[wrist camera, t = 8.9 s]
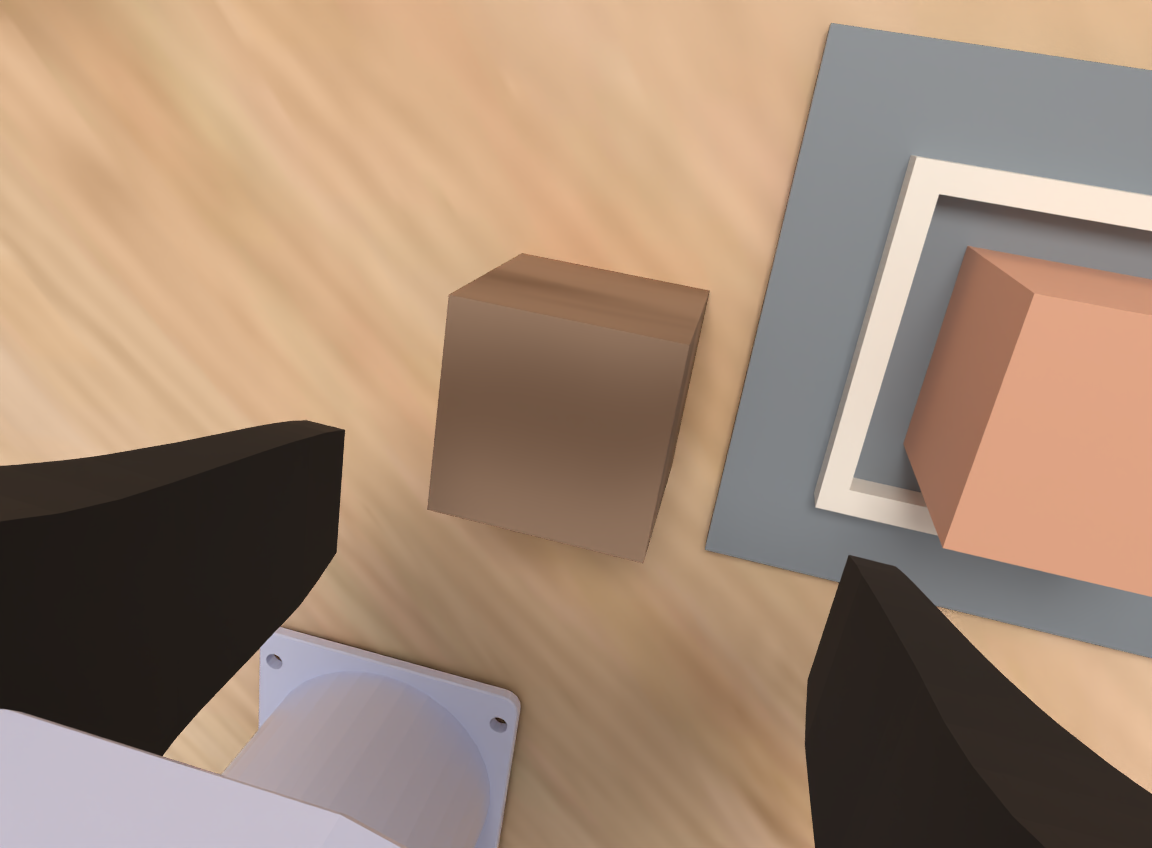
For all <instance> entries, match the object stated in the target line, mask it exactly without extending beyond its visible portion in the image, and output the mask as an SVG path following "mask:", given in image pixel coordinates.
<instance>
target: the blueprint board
mask: <svg viewBox="0 0 1152 848" xmlns="http://www.w3.org/2000/svg"><path fill="white" fill-rule="evenodd" d="M967 246H972V247H977V248H983V249H988V250H993V251H999V252H1004V253H1010V254H1015V255H1021V256H1026V257H1032V258H1037V259H1043V260H1048V261H1054V262H1059V263H1064V264H1070V265H1075V266H1081V267H1086V268H1092V269H1097V270H1103V271H1108V272H1114V273H1119V274H1125V275H1130V276H1135V277H1141V278H1146V279H1152V70H1145V69H1138V68H1131V67H1125V66H1118V65H1111V64H1104V63H1098V62H1091V61H1084V60H1077V59H1071V58H1064V57H1057V56H1050V55H1044V54H1037V53H1030V52H1023V51H1017V50H1010V49H1003V48H996V47H990V46H983V45H976V44H969V43H963V42H956V41H949V40H942V39H936V38H929V37H922V36H915V35H909V34H902V33H895V32H888V31H882V30H875V29H868V28H861V27H855V26H848V25H841V24H834V23H831V24H830V27H829V31H828V35H827V39H826V43H825V48H824V52H823V56H822V60H821V64H820V69H819V73H818V77H817V81H816V85H815V89H814V94H813V98H812V102H811V106H810V110H809V114H808V119H807V123H806V127H805V131H804V135H803V140H802V144H801V148H800V152H799V156H798V160H797V165H796V169H795V173H794V177H793V181H792V185H791V190H790V194H789V198H788V202H787V206H786V211H785V215H784V219H783V223H782V227H781V231H780V236H779V240H778V244H777V248H776V252H775V256H774V261H773V265H772V269H771V273H770V277H769V282H768V286H767V290H766V294H765V298H764V302H763V307H762V311H761V315H760V319H759V323H758V328H757V332H756V336H755V340H754V344H753V348H752V353H751V357H750V361H749V365H748V369H747V373H746V378H745V382H744V386H743V390H742V394H741V399H740V403H739V407H738V411H737V415H736V419H735V424H734V428H733V432H732V436H731V440H730V444H729V449H728V453H727V457H726V461H725V465H724V470H723V474H722V478H721V482H720V486H719V490H718V495H717V499H716V503H715V507H714V511H713V515H712V520H711V524H710V528H709V532H708V536H707V541H706V547H705V550H708V551H712V552H716V553H720V554H724V555H729V556H733V557H737V558H741V559H745V560H749V561H753V562H757V563H762V564H766V565H770V566H774V567H778V568H782V569H786V570H790V571H795V572H799V573H803V574H807V575H811V576H815V577H819V578H823V579H828V580H832V581H836V582H840V579H841V576H842V573H843V570H844V567H845V564H846V561H847V558H848V555H852V556H856V557H860V558H864V559H868V560H872V561H876V562H880V563H884V564H889V565H893V566H896V567H897V568H898V569H900V570H901V571H902V572H903V573H904V574H905V575H906V576H907V577H908V578H909V579H910V580H911V581H912V582H913V583H914V584H915V585H916V586H917V587H918V588H919V589H920V590H921V591H922V592H923V593H924V594H925V595H926V596H927V597H928V598H929V599H930V600H931V602H932V603H933V604H934V605H935V606H939V607H943V608H947V609H951V610H955V611H959V612H964V613H968V614H972V615H976V616H980V617H984V618H988V619H992V620H996V621H1001V622H1005V623H1009V624H1013V625H1017V626H1021V627H1025V628H1029V629H1034V630H1038V631H1042V632H1046V633H1050V634H1054V635H1058V636H1062V637H1067V638H1071V639H1075V640H1079V641H1083V642H1087V643H1091V644H1095V645H1100V646H1104V647H1108V648H1112V649H1116V650H1120V651H1124V652H1128V653H1133V654H1137V655H1141V656H1145V657H1149V658H1152V597H1150V596H1146V595H1141V594H1137V593H1133V592H1129V591H1124V590H1120V589H1116V588H1112V587H1107V586H1103V585H1099V584H1094V583H1090V582H1086V581H1082V580H1077V579H1073V578H1069V577H1065V576H1060V575H1056V574H1052V573H1047V572H1043V571H1039V570H1035V569H1030V568H1026V567H1022V566H1018V565H1013V564H1009V563H1005V562H1000V561H996V560H992V559H988V558H983V557H979V556H975V555H971V554H966V553H962V552H958V551H953V550H949V549H945V548H942V545H941V542H940V540H939V537H938V534H937V532H936V529H935V527H934V524H933V521H932V519H931V516H930V513H929V511H928V508H927V505H926V503H925V500H924V497H923V495H922V492H921V490H920V487H919V484H918V482H917V479H916V476H915V474H914V471H913V468H912V466H911V463H910V461H909V458H908V455H907V453H906V450H905V447H904V445H903V443H904V440H905V437H906V434H907V431H908V428H909V425H910V422H911V418H912V415H913V412H914V409H915V406H916V403H917V400H918V397H919V394H920V391H921V388H922V385H923V381H924V378H925V375H926V372H927V369H928V366H929V363H930V360H931V357H932V354H933V351H934V347H935V344H936V341H937V338H938V335H939V332H940V329H941V326H942V323H943V320H944V317H945V314H946V310H947V307H948V304H949V301H950V298H951V295H952V292H953V289H954V286H955V283H956V280H957V276H958V273H959V270H960V267H961V264H962V261H963V258H964V255H965V252H966V249H967Z"/></svg>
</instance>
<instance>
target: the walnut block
mask: <svg viewBox="0 0 1152 848" xmlns="http://www.w3.org/2000/svg"><path fill="white" fill-rule="evenodd" d="M708 295H709V291H708V290H703V289H698V288H693V287H688V286H683V285H678V284H673V283H668V282H663V281H658V280H653V279H648V278H643V277H638V276H633V275H628V274H623V273H618V272H613V271H608V270H603V269H598V268H593V267H588V266H583V265H578V264H573V263H568V262H563V261H558V260H553V259H548V258H543V257H538V256H533V255H528V254H523V253H522V254H520V255H518V256H516V257H515V258H513V259H511V260H509V261H508V262H506V263H504V264H502V265H500V266H499V267H497V268H495V269H493V270H492V271H490V272H488V273H486V274H485V275H483V276H481V277H479V278H478V279H476V280H474V281H472V282H471V283H469V284H467V285H465V286H463V287H462V288H460V289H458V290H456V291H455V292H453V293H451V294H449V299H448V309H447V319H446V329H445V339H444V349H443V359H442V369H441V379H440V389H439V399H438V409H437V419H436V429H435V439H434V449H433V459H432V469H431V479H430V489H429V499H428V509H427V510H431V511H435V512H439V513H443V514H447V515H451V516H455V517H459V518H463V519H467V520H471V521H475V522H479V523H483V524H487V525H491V526H495V527H499V528H503V529H507V530H511V531H515V532H519V533H523V534H527V535H531V536H535V537H540V538H544V539H548V540H552V541H556V542H560V543H564V544H568V545H572V546H576V547H580V548H584V549H588V550H592V551H596V552H600V553H604V554H608V555H612V556H616V557H620V558H624V559H628V560H632V561H636V562H640V563H643V562H644V559H645V556H646V552H647V549H648V545H649V542H650V538H651V535H652V532H653V528H654V525H655V521H656V518H657V515H658V511H659V508H660V504H661V501H662V497H663V494H664V491H665V487H666V484H667V480H668V477H669V473H670V470H671V466H672V462H673V457H674V453H675V448H676V443H677V439H678V434H679V429H680V425H681V420H682V416H683V411H684V406H685V402H686V397H687V393H688V388H689V383H690V379H691V374H692V369H693V365H694V360H695V356H696V351H697V346H698V342H699V337H700V332H701V328H702V323H703V319H704V314H705V309H706V305H707V300H708Z"/></svg>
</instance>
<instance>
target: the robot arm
mask: <svg viewBox="0 0 1152 848" xmlns="http://www.w3.org/2000/svg"><path fill="white" fill-rule="evenodd" d="M344 437H345V430H343V429H339V428H335V427H331V426H327V425H323V424H319V423H315V422H311V421H307V420H303V421H288V422H280V423H273V424H267V425H262V426H256V427H251V428H246V429H241V430H236V431H231V432H226V433H221V434H216V435H211V436H206V437H202V438H197V439H192V440H187V441H182V442H177V443H171V444H165V445H160V446H154V447H148V448H142V449H137V450H131V451H125V452H119V453H114V454H108V455H101V456H94V457H87V458H79V459H71V460H63V461H52V462H42V463H32V464H21V465H8V466H0V848H498V847H499V841H500V834H501V828H502V822H503V816H504V809H505V803H506V797H507V791H508V784H509V778H510V772H511V766H512V759H513V753H514V747H515V741H516V734H517V728H518V722H519V715H520V709H521V705H520V701H519V699H518V697H517V696H516V695H515V694H514V693H513V692H511V691H509V690H506V689H503V688H499V687H496V686H492V685H488V684H485V683H481V682H478V681H474V680H470V679H467V678H463V677H460V676H456V675H452V674H449V673H445V672H441V671H438V670H434V669H431V668H427V667H423V666H420V665H416V664H412V663H409V662H405V661H402V660H398V659H394V658H391V657H387V656H384V655H380V654H376V653H373V652H369V651H365V650H362V649H358V648H355V647H351V646H347V645H344V644H340V643H336V642H333V641H329V640H326V639H322V638H318V637H315V636H311V635H308V634H304V633H300V632H297V631H293V630H289V629H286V628H282V627H280V626H281V625H282V624H283V623H284V622H285V621H286V620H287V619H288V618H289V616H290V615H291V614H292V613H293V612H294V611H295V610H296V609H297V608H298V607H299V605H300V604H301V603H302V602H303V600H304V599H305V598H306V596H307V595H308V594H309V592H310V591H311V589H312V588H313V587H314V585H315V584H316V582H317V581H318V580H319V578H320V577H321V575H322V574H323V572H324V571H325V569H326V568H327V566H328V565H329V563H330V562H331V560H332V559H333V557H334V556H335V554H336V552H337V537H338V523H339V509H340V494H341V480H342V466H343V451H344ZM259 648H260V679H259V730H258V731H257V732H256V733H255V735H254V736H253V737H252V738H251V739H250V740H249V742H248V743H247V744H246V745H245V746H244V748H243V749H242V750H241V751H240V752H239V754H238V755H237V756H236V757H235V758H234V760H233V761H232V762H231V763H230V764H229V766H228V767H227V768H226V769H225V770H224V772H223V773H222V774H221V775H220V774H217V773H213V772H210V771H207V770H204V769H201V768H198V767H194V766H191V765H188V764H185V763H182V762H179V761H175V760H172V759H169V758H166V757H163V755H164V753H165V752H166V751H167V749H168V748H169V747H170V745H171V744H172V743H173V741H174V740H175V739H176V738H177V736H178V735H179V734H180V733H181V732H182V731H183V730H184V728H185V727H186V726H187V725H188V724H189V723H190V722H191V720H192V719H193V718H194V717H195V716H196V715H197V713H198V712H199V711H200V710H201V709H202V708H203V707H204V706H205V705H206V704H207V703H208V702H209V701H210V700H211V699H212V698H213V697H214V695H215V694H216V693H217V692H218V691H219V690H220V689H221V688H222V687H223V686H224V685H225V684H226V683H227V682H228V681H229V680H230V679H231V678H232V677H233V676H234V675H235V673H236V672H237V671H238V670H239V669H240V668H241V667H242V666H243V665H244V664H245V663H246V662H247V661H248V660H249V659H250V658H251V657H252V656H253V655H254V654H255V653H256V652H257V650H258V649H259ZM274 654H275V655H277V656H279V657H280V659H281V660H282V661H280V660H278V659H277V658H276V657H275V656H274ZM494 717H498V718H501V719H503V720H504V721H505V722H506V724H505V723H500V722H498V721H497V720H496V719H495V718H494ZM805 751H806V762H807V773H808V783H809V793H810V803H811V813H812V822H813V832H814V842H815V848H1152V794H1151V793H1150V792H1148V791H1147V790H1145V789H1144V788H1142V787H1141V786H1139V785H1138V784H1136V783H1135V782H1134V781H1132V780H1131V779H1129V778H1128V777H1127V776H1125V775H1124V774H1123V773H1121V772H1120V771H1118V770H1117V769H1116V768H1114V767H1113V766H1111V765H1110V764H1109V763H1107V762H1106V761H1105V760H1104V759H1102V758H1101V757H1100V756H1098V755H1097V754H1096V753H1095V752H1093V751H1092V750H1091V749H1090V748H1088V747H1087V746H1086V745H1084V744H1083V743H1082V742H1081V741H1079V740H1078V739H1077V738H1075V737H1074V736H1073V735H1072V734H1070V733H1069V732H1068V731H1067V730H1065V729H1064V728H1063V727H1061V726H1060V725H1059V724H1058V723H1057V722H1055V721H1054V720H1053V719H1052V718H1051V717H1050V716H1048V715H1047V714H1046V713H1045V712H1044V711H1042V710H1041V709H1040V708H1039V707H1038V706H1037V705H1036V704H1034V703H1033V702H1032V701H1031V700H1030V699H1029V698H1028V697H1027V696H1026V695H1025V694H1024V693H1022V692H1021V691H1020V690H1019V689H1018V688H1017V687H1016V686H1015V685H1014V684H1013V683H1012V682H1010V681H1009V680H1008V679H1007V678H1006V677H1005V676H1004V675H1003V674H1002V673H1001V672H1000V671H999V670H998V669H997V668H996V667H995V666H994V665H993V664H992V663H990V662H989V661H988V660H987V659H986V658H985V657H984V656H983V655H982V654H981V653H980V652H979V651H978V650H977V649H976V648H975V647H974V646H973V645H972V644H971V643H970V642H969V640H968V639H967V638H966V637H965V636H964V635H963V634H962V633H961V632H960V631H959V630H958V629H957V628H956V627H955V626H954V625H953V624H952V623H951V622H950V621H949V620H948V619H947V618H946V616H945V615H944V614H943V613H942V612H941V611H940V610H939V609H938V608H937V607H936V606H935V605H934V604H933V603H932V602H931V600H930V599H929V598H928V597H927V596H926V595H925V594H924V593H923V592H922V591H921V590H920V589H919V588H918V587H917V586H916V585H915V584H914V583H913V582H912V581H911V580H910V579H909V578H908V577H907V576H906V575H905V574H904V573H903V572H902V571H901V570H900V569H898V568H897V567H896V566H893V565H889V564H884V563H880V562H876V561H872V560H868V559H864V558H860V557H856V556H852V555H848V558H847V561H846V564H845V567H844V570H843V573H842V576H841V579H840V582H839V585H838V589H837V592H836V595H835V598H834V601H833V604H832V607H831V610H830V613H829V616H828V619H827V622H826V625H825V628H824V631H823V634H822V638H821V641H820V644H819V647H818V650H817V653H816V656H815V659H814V662H813V665H812V668H811V671H810V674H809V677H808V684H807V703H806V727H805Z"/></svg>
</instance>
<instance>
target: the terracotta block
mask: <svg viewBox="0 0 1152 848" xmlns="http://www.w3.org/2000/svg"><path fill="white" fill-rule="evenodd" d="M903 445H904V447H905V450H906V453H907V455H908V458H909V461H910V463H911V466H912V468H913V471H914V474H915V476H916V479H917V482H918V484H919V487H920V490H921V492H922V495H923V497H924V500H925V503H926V505H927V508H928V511H929V513H930V516H931V519H932V521H933V524H934V527H935V529H936V532H937V534H938V537H939V540H940V542H941V545H942V548H945V549H949V550H953V551H958V552H962V553H966V554H971V555H975V556H979V557H983V558H988V559H992V560H996V561H1000V562H1005V563H1009V564H1013V565H1018V566H1022V567H1026V568H1030V569H1035V570H1039V571H1043V572H1047V573H1052V574H1056V575H1060V576H1065V577H1069V578H1073V579H1077V580H1082V581H1086V582H1090V583H1094V584H1099V585H1103V586H1107V587H1112V588H1116V589H1120V590H1124V591H1129V592H1133V593H1137V594H1141V595H1146V596H1150V597H1152V279H1146V278H1141V277H1135V276H1130V275H1125V274H1119V273H1114V272H1108V271H1103V270H1097V269H1092V268H1086V267H1081V266H1075V265H1070V264H1064V263H1059V262H1054V261H1048V260H1043V259H1037V258H1032V257H1026V256H1021V255H1015V254H1010V253H1004V252H999V251H993V250H988V249H983V248H977V247H972V246H967V249H966V252H965V255H964V258H963V261H962V264H961V267H960V270H959V273H958V276H957V280H956V283H955V286H954V289H953V292H952V295H951V298H950V301H949V304H948V307H947V310H946V314H945V317H944V320H943V323H942V326H941V329H940V332H939V335H938V338H937V341H936V344H935V347H934V351H933V354H932V357H931V360H930V363H929V366H928V369H927V372H926V375H925V378H924V381H923V385H922V388H921V391H920V394H919V397H918V400H917V403H916V406H915V409H914V412H913V415H912V418H911V422H910V425H909V428H908V431H907V434H906V437H905V440H904V443H903Z"/></svg>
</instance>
